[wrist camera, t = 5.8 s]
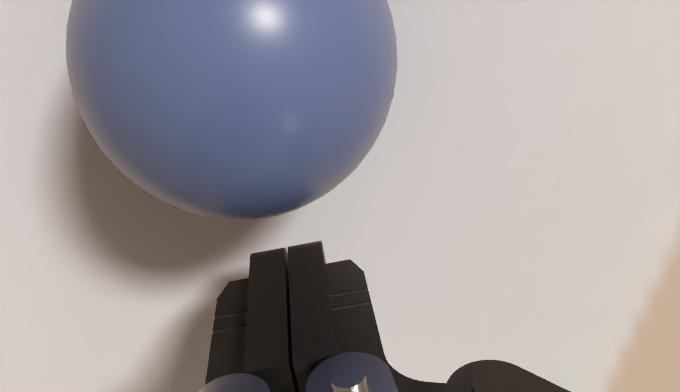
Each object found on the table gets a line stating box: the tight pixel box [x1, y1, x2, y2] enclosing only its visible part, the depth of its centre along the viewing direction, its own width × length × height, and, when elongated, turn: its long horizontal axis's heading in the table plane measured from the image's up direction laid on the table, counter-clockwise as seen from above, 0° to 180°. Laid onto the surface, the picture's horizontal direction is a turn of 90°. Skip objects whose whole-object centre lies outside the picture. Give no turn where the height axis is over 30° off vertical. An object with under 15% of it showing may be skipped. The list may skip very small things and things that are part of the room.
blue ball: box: [66, 0, 397, 220], centre depth 9 cm, size 5×5×5 cm
